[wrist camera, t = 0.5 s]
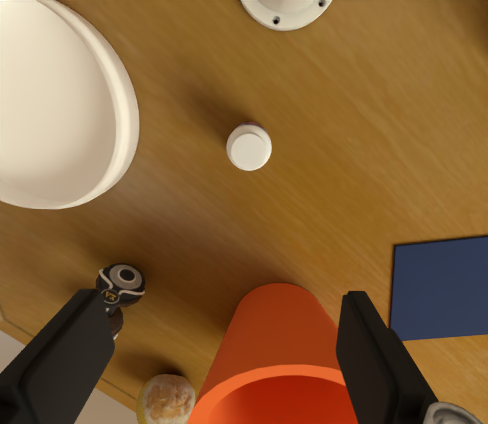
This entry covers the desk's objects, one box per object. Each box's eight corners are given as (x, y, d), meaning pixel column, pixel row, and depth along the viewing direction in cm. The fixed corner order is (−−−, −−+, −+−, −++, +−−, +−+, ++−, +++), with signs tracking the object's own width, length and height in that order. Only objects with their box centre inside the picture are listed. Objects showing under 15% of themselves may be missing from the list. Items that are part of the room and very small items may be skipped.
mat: (394, 245, 45) (395, 246, 44) (528, 231, 43) (530, 232, 43) (388, 340, 52) (389, 341, 51) (503, 331, 50) (505, 333, 50)
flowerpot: (360, 264, 46) (431, 372, 28) (336, 373, 55) (377, 508, 37) (210, 256, 46) (181, 357, 28) (210, 365, 56) (189, 495, 37)
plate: (124, -9, 33) (101, -29, 28) (151, 202, 43) (137, 216, 38) (-92, -7, 34) (-152, -26, 29) (-18, 200, 44) (-53, 213, 39)
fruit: (198, 398, 59) (187, 453, 50) (147, 392, 59) (128, 446, 50) (201, 363, 56) (190, 416, 46) (147, 357, 55) (126, 408, 46)
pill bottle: (276, 141, 39) (283, 153, 30) (249, 167, 41) (247, 186, 32) (250, 112, 38) (249, 115, 29) (223, 140, 39) (213, 151, 30)
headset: (119, 330, 53) (47, 453, 34) (81, 312, 52) (-16, 430, 33) (160, 267, 48) (100, 373, 29) (118, 245, 46) (27, 340, 28)
